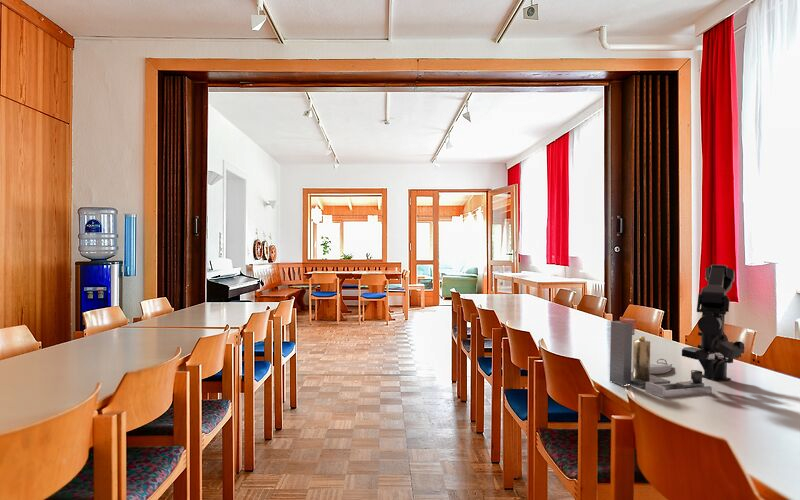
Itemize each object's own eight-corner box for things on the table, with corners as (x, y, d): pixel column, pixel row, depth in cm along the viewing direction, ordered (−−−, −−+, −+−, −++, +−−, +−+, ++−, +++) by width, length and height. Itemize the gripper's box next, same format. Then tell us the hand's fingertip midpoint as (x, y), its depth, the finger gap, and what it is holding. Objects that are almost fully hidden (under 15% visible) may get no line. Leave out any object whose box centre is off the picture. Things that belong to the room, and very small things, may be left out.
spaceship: (650, 378, 161) (650, 365, 161) (632, 373, 167) (632, 361, 167) (683, 369, 175) (683, 357, 175) (665, 365, 180) (665, 353, 180)
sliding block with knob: (695, 388, 150) (696, 369, 150) (704, 391, 148) (704, 372, 148) (676, 390, 148) (676, 371, 148) (684, 393, 145) (685, 373, 145)
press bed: (640, 375, 164) (642, 315, 164) (670, 385, 153) (671, 321, 153) (603, 378, 160) (604, 316, 159) (630, 389, 148) (632, 322, 148)
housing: (649, 376, 158) (650, 336, 158) (650, 380, 154) (650, 338, 154) (632, 374, 160) (633, 334, 160) (632, 377, 156) (633, 337, 156)
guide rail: (693, 386, 152) (693, 377, 152) (711, 392, 146) (711, 383, 146) (645, 391, 146) (645, 381, 146) (662, 397, 140) (662, 387, 140)
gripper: (713, 336, 140) (712, 388, 140) (759, 333, 145) (757, 384, 146) (680, 329, 150) (679, 378, 150) (724, 327, 156) (723, 374, 156)
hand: (710, 379), depth 150 cm, fingers closed
